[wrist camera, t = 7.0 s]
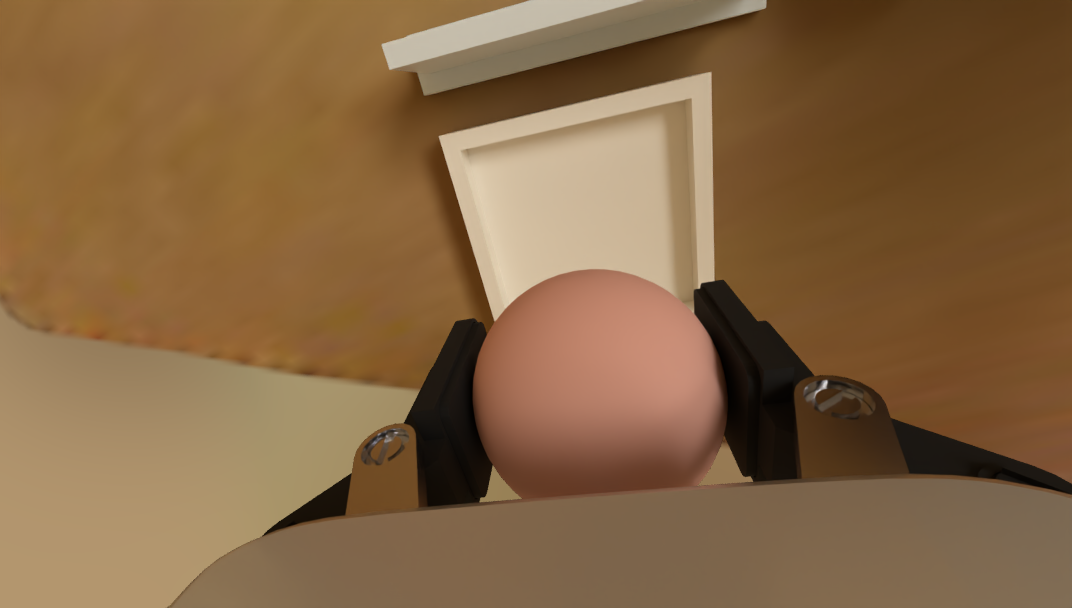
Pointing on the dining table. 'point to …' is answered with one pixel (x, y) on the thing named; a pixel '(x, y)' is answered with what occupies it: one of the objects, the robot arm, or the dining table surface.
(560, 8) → the divider wall
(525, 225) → the dish
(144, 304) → the dining table surface
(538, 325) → the ball
